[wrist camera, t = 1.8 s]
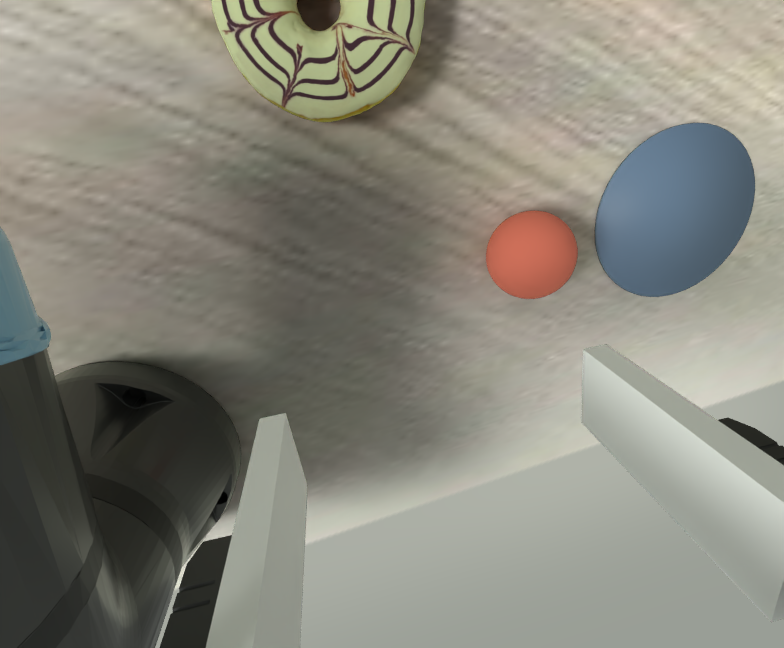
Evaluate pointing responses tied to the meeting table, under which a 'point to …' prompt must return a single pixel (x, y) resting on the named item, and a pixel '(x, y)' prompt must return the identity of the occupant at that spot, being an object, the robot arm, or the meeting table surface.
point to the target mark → (674, 209)
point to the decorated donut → (322, 53)
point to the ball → (531, 254)
